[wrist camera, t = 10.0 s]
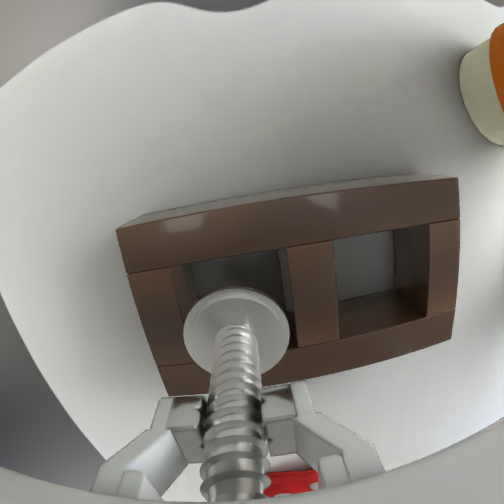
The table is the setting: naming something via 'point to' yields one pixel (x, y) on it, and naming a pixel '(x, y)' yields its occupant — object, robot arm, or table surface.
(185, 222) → the holder
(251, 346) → the screw
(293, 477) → the tracker holder
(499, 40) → the reusable coffee cup
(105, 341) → the table surface
